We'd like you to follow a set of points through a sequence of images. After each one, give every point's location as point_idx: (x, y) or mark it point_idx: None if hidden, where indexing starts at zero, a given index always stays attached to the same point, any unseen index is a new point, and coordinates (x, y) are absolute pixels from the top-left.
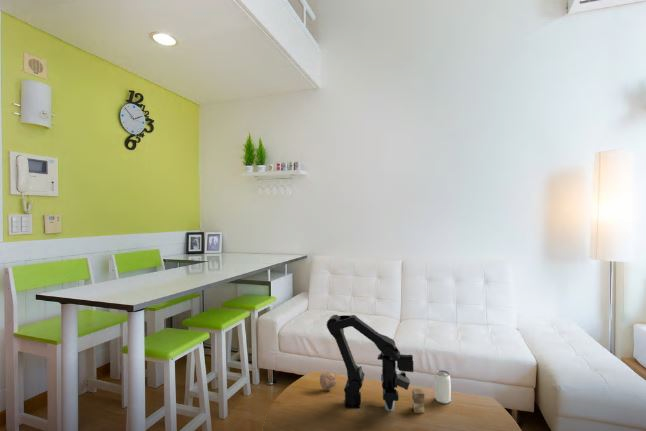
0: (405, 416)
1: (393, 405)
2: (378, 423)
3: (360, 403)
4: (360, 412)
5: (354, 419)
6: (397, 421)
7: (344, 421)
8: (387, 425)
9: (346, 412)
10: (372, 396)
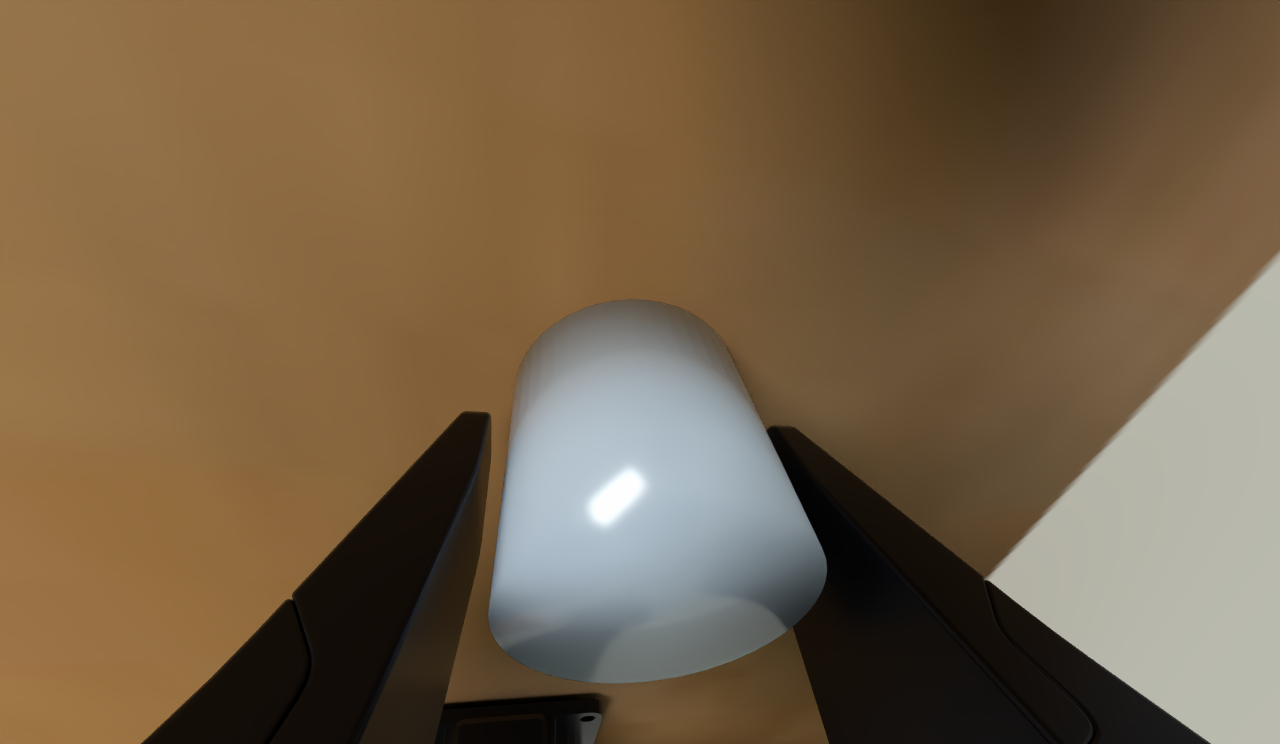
0: (1077, 73)
1: (758, 417)
2: (972, 554)
3: (547, 733)
4: (686, 679)
5: (798, 697)
6: (1105, 323)
7: (802, 731)
8: (1081, 473)
9: (666, 740)
10: (181, 616)
